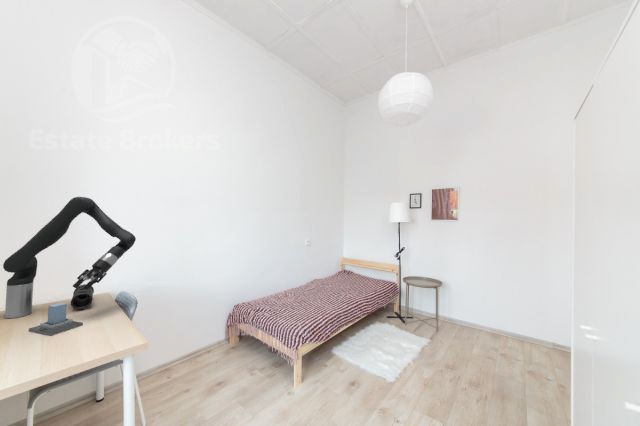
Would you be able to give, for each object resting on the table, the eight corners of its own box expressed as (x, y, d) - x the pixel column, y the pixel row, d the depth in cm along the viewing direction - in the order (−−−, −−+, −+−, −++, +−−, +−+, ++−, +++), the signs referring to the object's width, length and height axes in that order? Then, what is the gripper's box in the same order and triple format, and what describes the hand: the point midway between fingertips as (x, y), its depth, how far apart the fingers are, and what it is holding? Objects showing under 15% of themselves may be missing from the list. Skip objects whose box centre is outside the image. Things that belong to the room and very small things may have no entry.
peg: (47, 326, 115) (48, 305, 115) (59, 323, 119) (60, 302, 120) (53, 328, 114) (54, 306, 114) (65, 324, 118) (66, 303, 119)
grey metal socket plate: (28, 331, 113) (28, 324, 113) (61, 321, 124) (62, 314, 125) (50, 336, 109) (50, 328, 109) (82, 325, 120) (83, 318, 120)
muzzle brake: (69, 313, 136) (70, 294, 136) (73, 300, 156) (74, 284, 157) (92, 309, 142) (93, 291, 143) (93, 297, 163) (94, 282, 163)
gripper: (91, 257, 136) (64, 283, 125) (109, 259, 132) (83, 285, 121) (101, 265, 141) (76, 290, 130) (119, 267, 137) (94, 293, 126)
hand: (79, 288), depth 125 cm, fingers open, 8 cm apart
